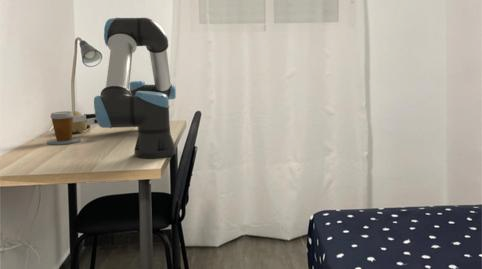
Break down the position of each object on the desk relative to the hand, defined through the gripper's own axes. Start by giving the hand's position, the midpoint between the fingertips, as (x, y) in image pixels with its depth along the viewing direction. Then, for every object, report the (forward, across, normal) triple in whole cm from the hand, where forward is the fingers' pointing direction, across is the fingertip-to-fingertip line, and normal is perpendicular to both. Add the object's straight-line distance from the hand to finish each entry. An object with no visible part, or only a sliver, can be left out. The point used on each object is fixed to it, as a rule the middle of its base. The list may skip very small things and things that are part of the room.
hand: (79, 120), depth 207 cm
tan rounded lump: (-8, +19, -9) cm, 22 cm away
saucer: (+8, 0, -8) cm, 11 cm away
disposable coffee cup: (+8, 0, -8) cm, 11 cm away
